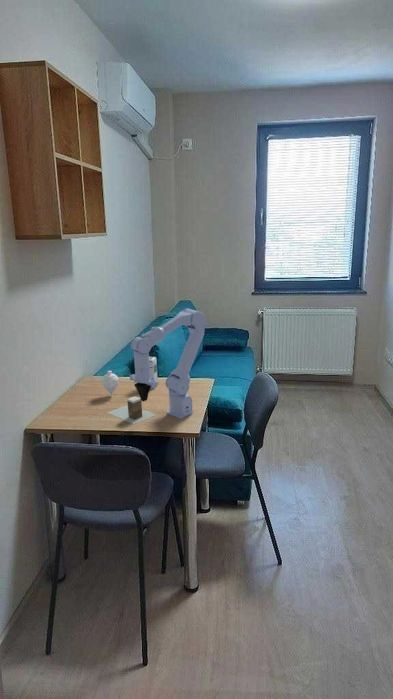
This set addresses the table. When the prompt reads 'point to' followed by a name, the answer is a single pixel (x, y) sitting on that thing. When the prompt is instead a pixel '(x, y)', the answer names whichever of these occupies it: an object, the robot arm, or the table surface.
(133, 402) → the brown and white block
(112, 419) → the table surface
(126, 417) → the sage mat
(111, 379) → the spinning top
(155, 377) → the syrup box
